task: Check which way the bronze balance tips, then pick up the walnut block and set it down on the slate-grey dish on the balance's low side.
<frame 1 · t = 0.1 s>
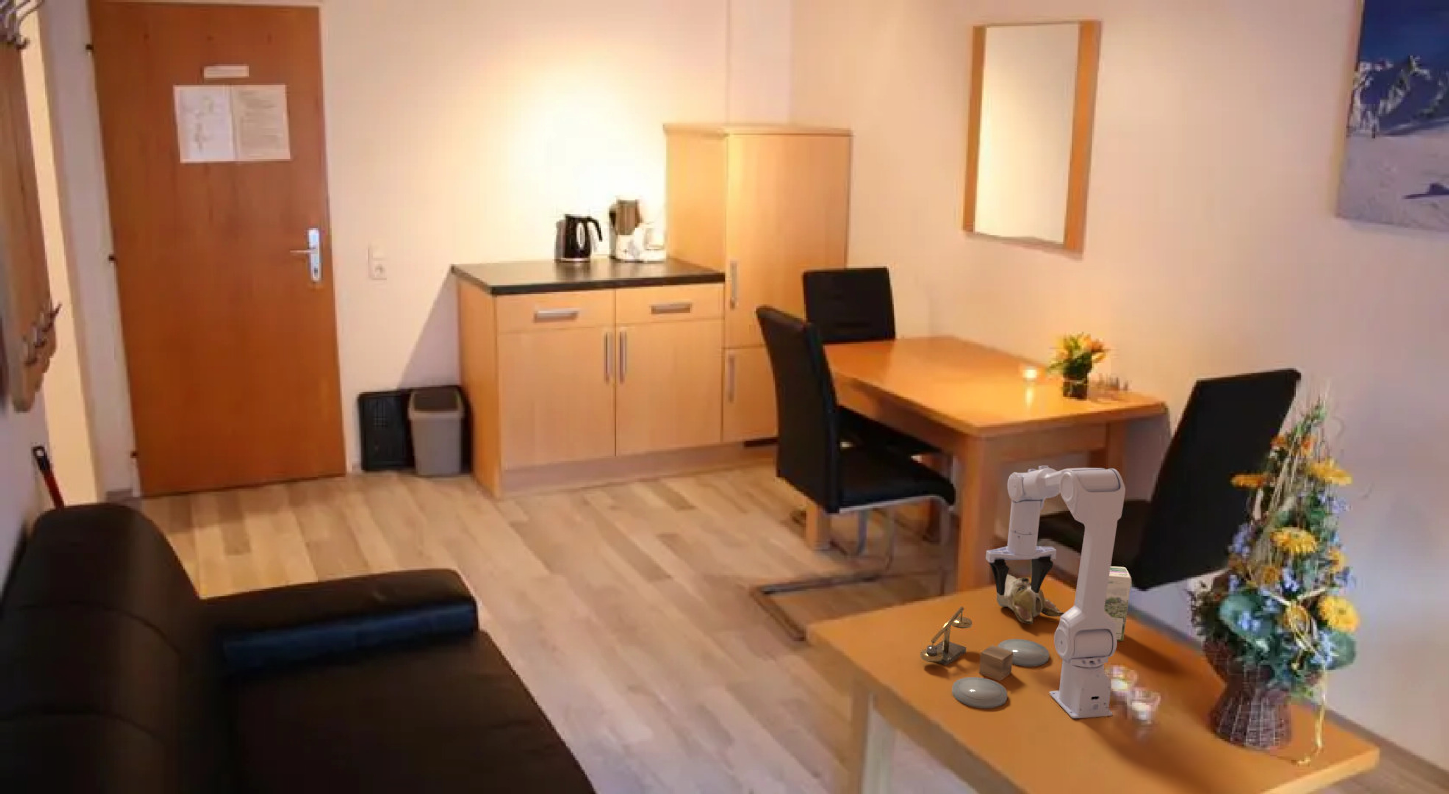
hand: (1017, 592, 243), 10 cm above the table, fingers open, 7 cm apart
right dish: (1022, 654, 238), on the table
left dish: (979, 694, 221), on the table
walnut block: (995, 673, 230), on the table
ceramic sculpture: (1023, 616, 257), on the table
syrup box: (1106, 635, 248), on the table
bronze balance: (945, 654, 237), on the table
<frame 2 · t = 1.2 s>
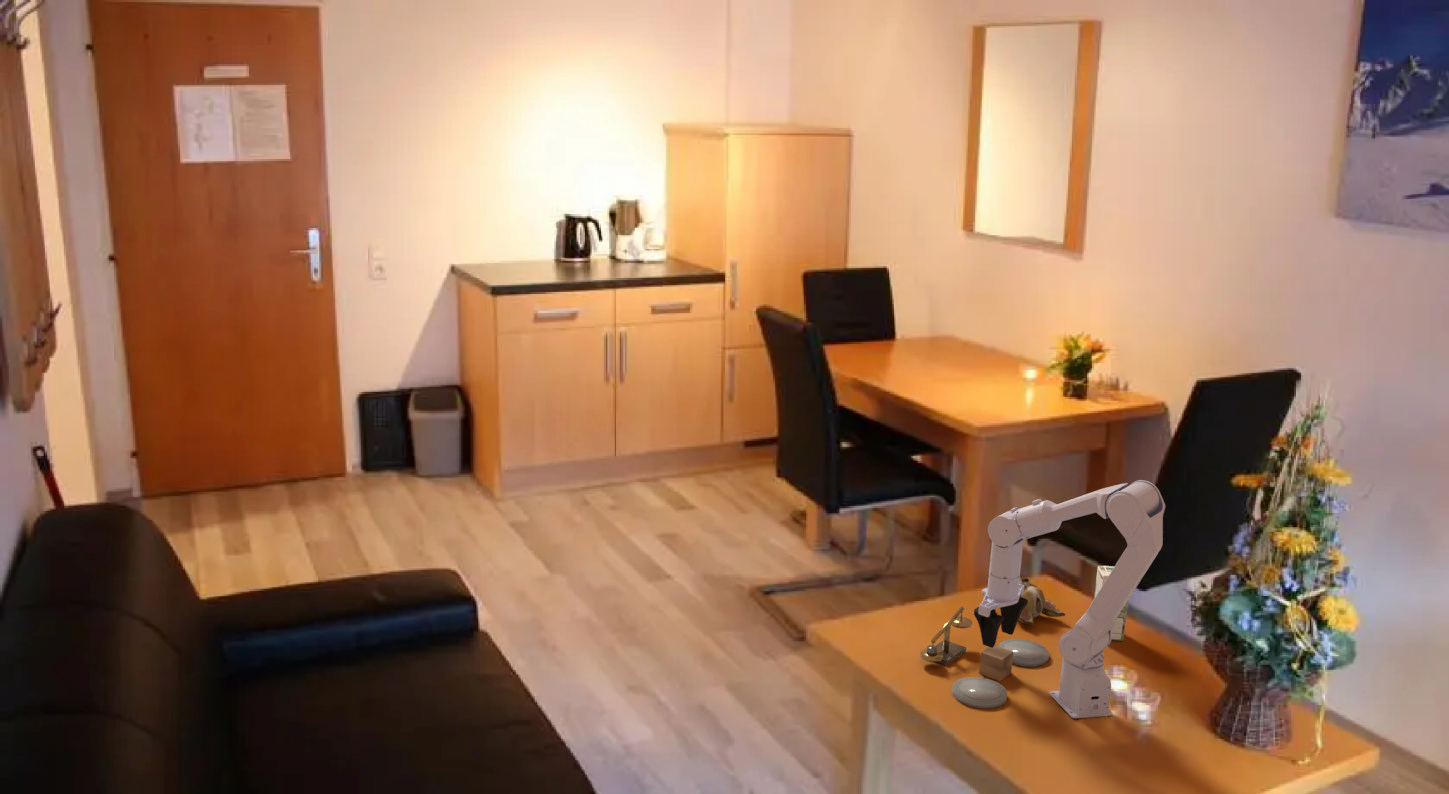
hand: (997, 639, 228), 7 cm above the table, fingers open, 7 cm apart
nothing on the table moved.
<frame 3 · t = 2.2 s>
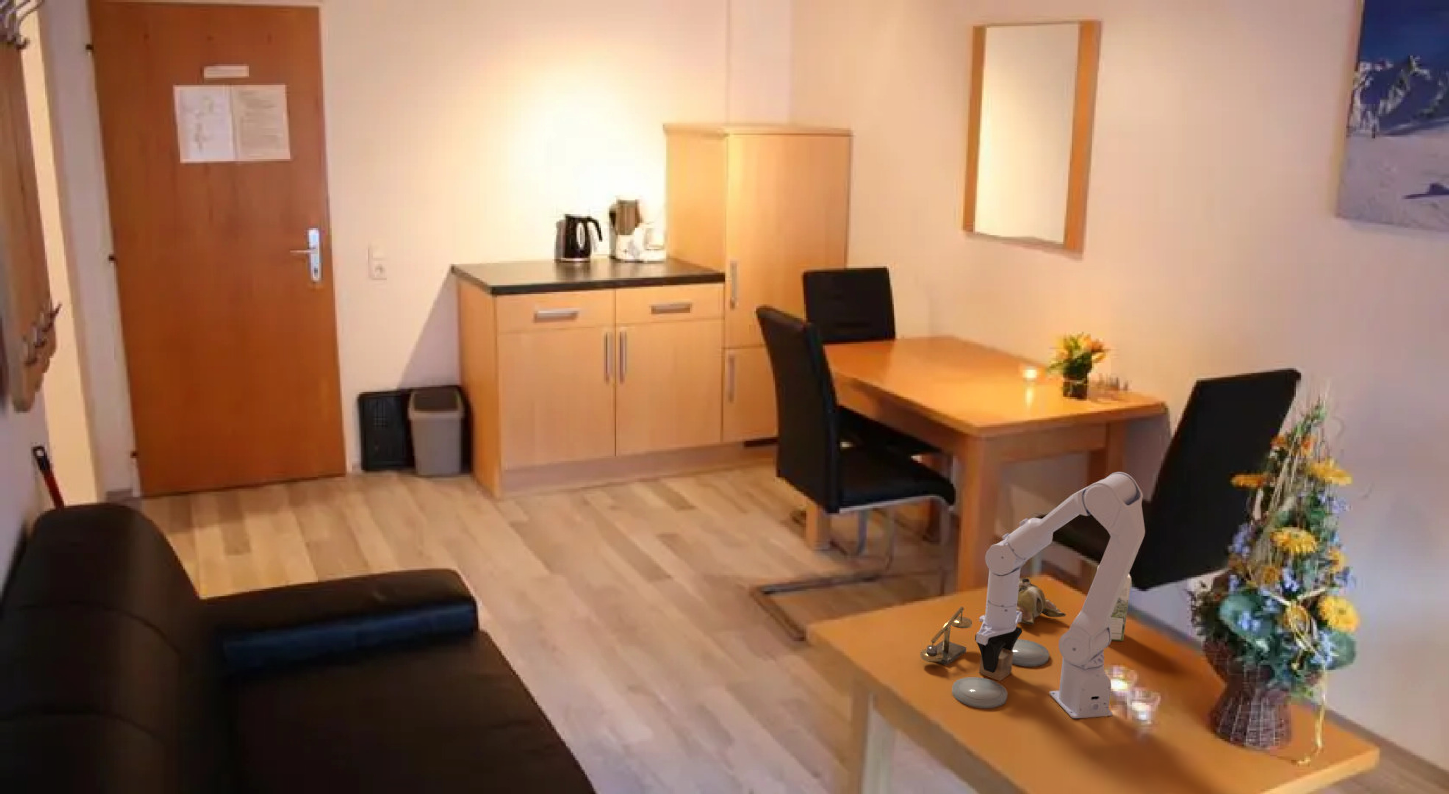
hand: (995, 666, 230), 1 cm above the table, fingers closed on walnut block, 4 cm apart
walnut block: (995, 673, 230), on the table, touching gripper
everything else where it was.
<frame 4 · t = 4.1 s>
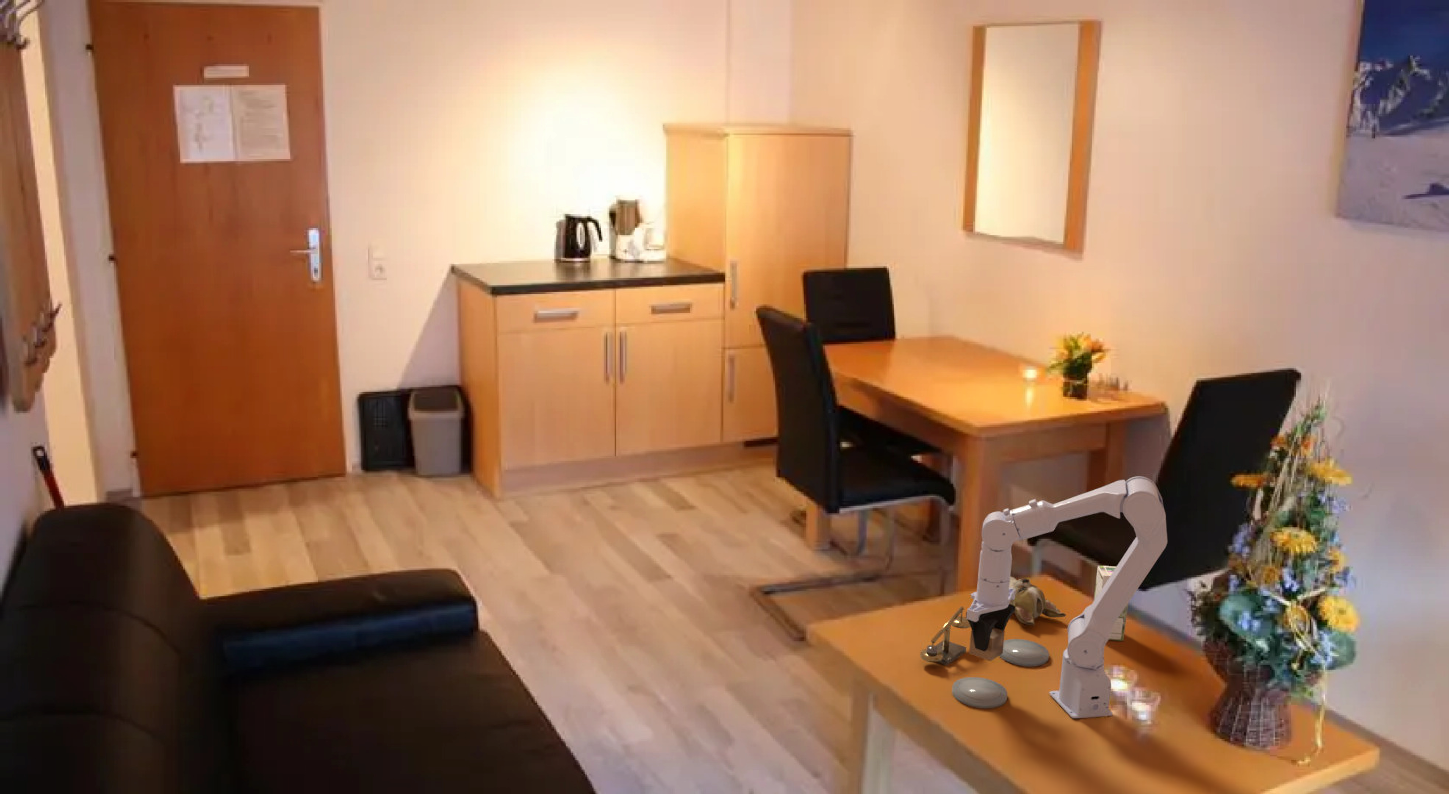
hand: (987, 644, 222), 9 cm above the table, fingers closed on walnut block, 4 cm apart
walnut block: (985, 653, 222), point 7 cm above the table, touching gripper
everything else where it was.
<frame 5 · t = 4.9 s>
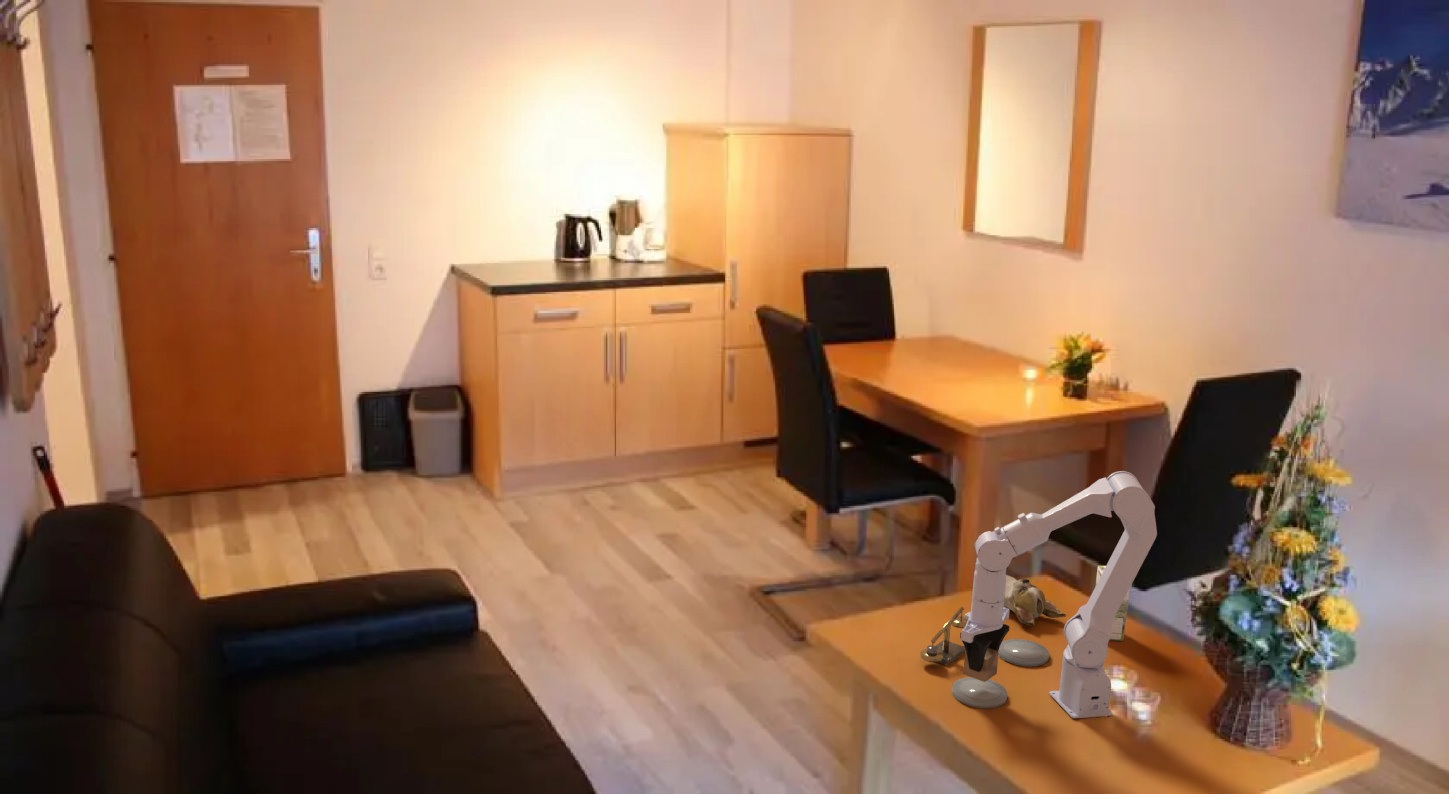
hand: (981, 665, 220), 6 cm above the table, fingers closed on walnut block, 4 cm apart
walnut block: (979, 674, 221), point 4 cm above the table, touching gripper
everything else where it was.
when the fingers open (3 cm above the table, at t = 5.8 s): walnut block stays where it is, resting on left dish.
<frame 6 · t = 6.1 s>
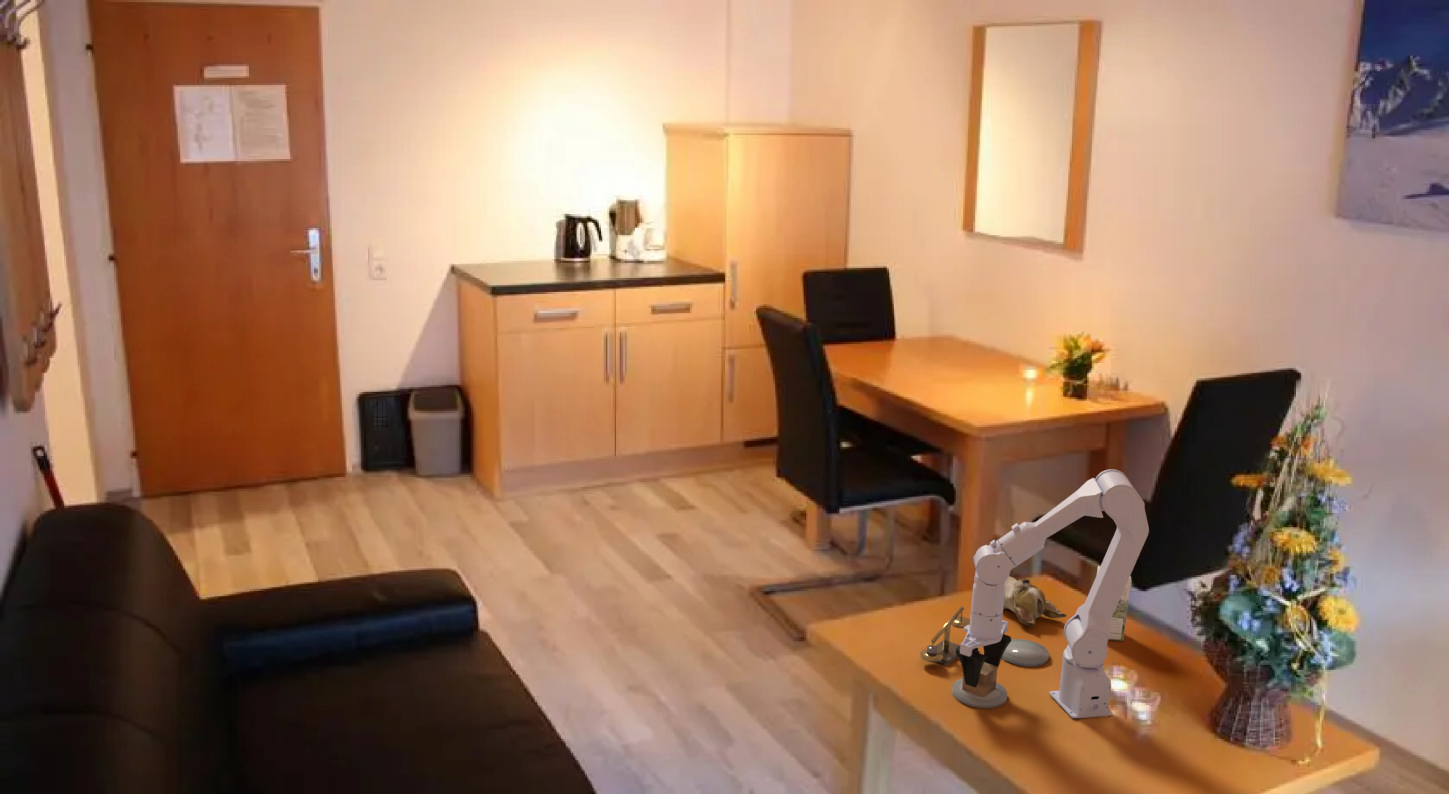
hand: (980, 678, 221), 3 cm above the table, fingers open, 7 cm apart
walnut block: (978, 689, 221), point 1 cm above the table, touching left dish
everything else where it was.
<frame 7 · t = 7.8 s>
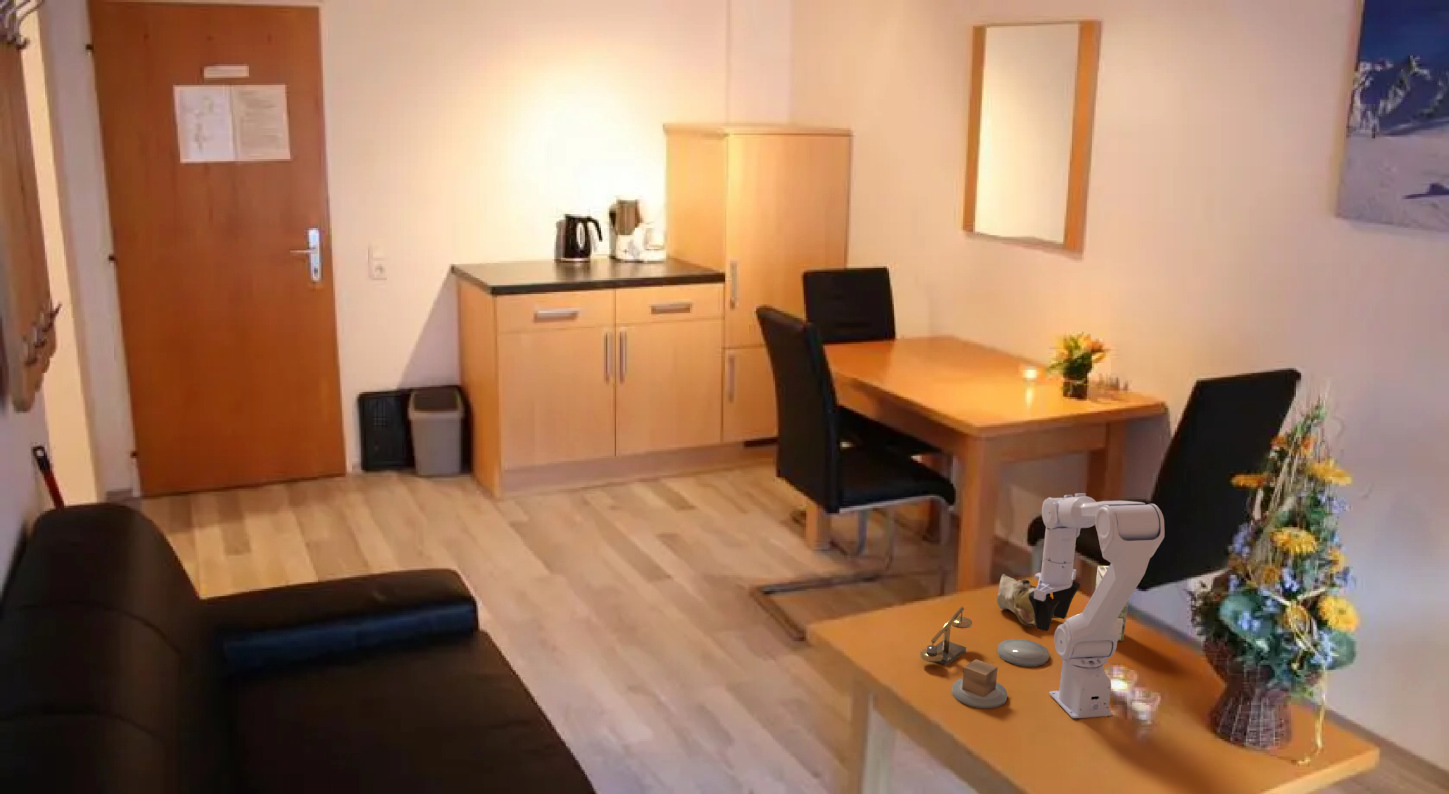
hand: (1051, 623, 231), 9 cm above the table, fingers open, 7 cm apart
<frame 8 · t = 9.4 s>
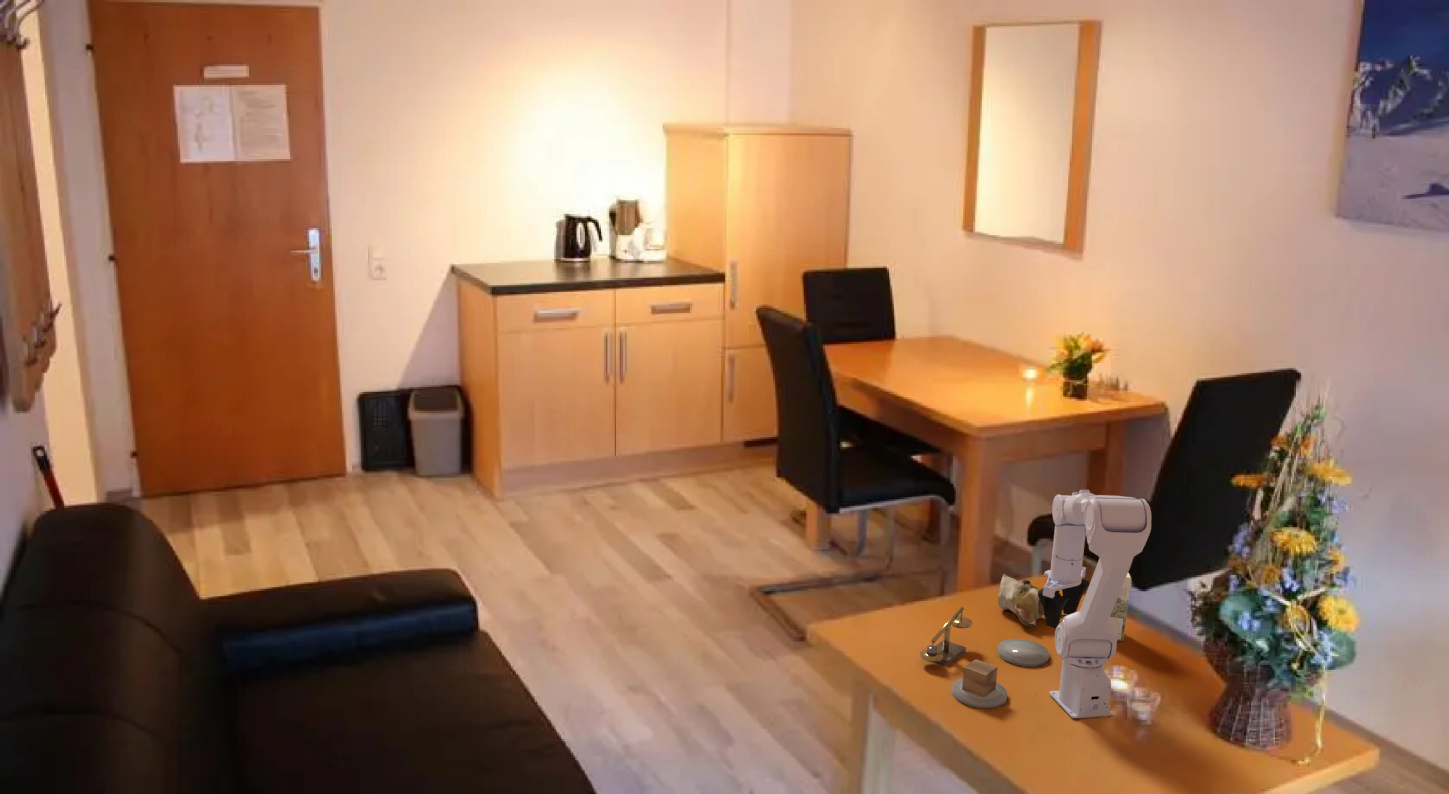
hand: (1060, 620, 232), 9 cm above the table, fingers open, 7 cm apart
at the end: walnut block 0.2 cm off-centre on the left dish, point 1.1 cm above the left dish's base; walnut block tilted 0°; the gripper is holding nothing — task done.
